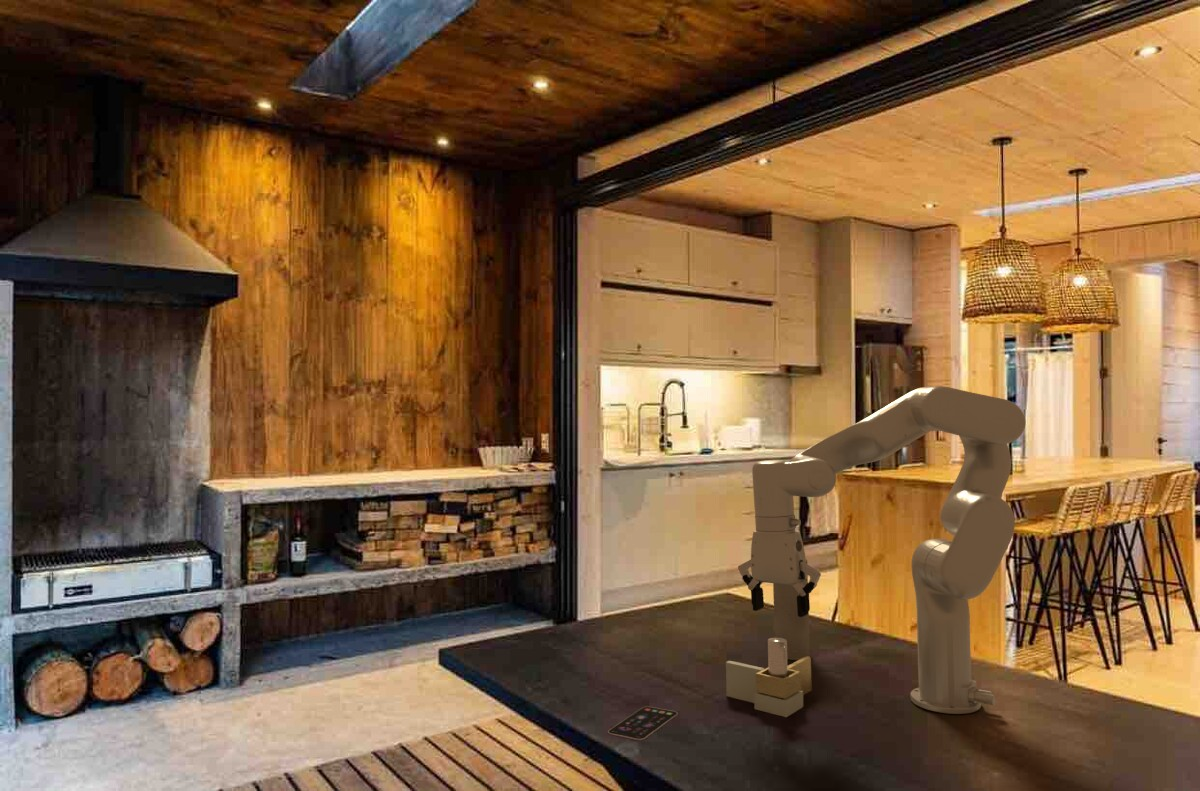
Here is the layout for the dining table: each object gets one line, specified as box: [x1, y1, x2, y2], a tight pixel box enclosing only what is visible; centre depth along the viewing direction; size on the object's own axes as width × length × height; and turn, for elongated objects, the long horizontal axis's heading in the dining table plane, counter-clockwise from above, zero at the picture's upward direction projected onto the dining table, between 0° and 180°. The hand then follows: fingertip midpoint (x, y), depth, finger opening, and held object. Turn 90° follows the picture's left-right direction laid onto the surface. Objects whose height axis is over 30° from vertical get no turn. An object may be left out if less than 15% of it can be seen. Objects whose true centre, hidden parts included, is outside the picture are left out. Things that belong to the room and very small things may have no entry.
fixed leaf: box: [756, 656, 812, 699], centre depth 160 cm, size 6×16×7 cm, turn 139°
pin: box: [767, 637, 788, 700], centre depth 156 cm, size 4×4×13 cm
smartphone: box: [607, 706, 679, 741], centre depth 150 cm, size 8×1×15 cm
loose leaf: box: [725, 660, 804, 718], centre depth 159 cm, size 15×7×7 cm, turn 49°
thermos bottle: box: [772, 558, 811, 661], centre depth 190 cm, size 8×8×28 cm
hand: (780, 612), depth 156 cm, fingers open, 9 cm apart
